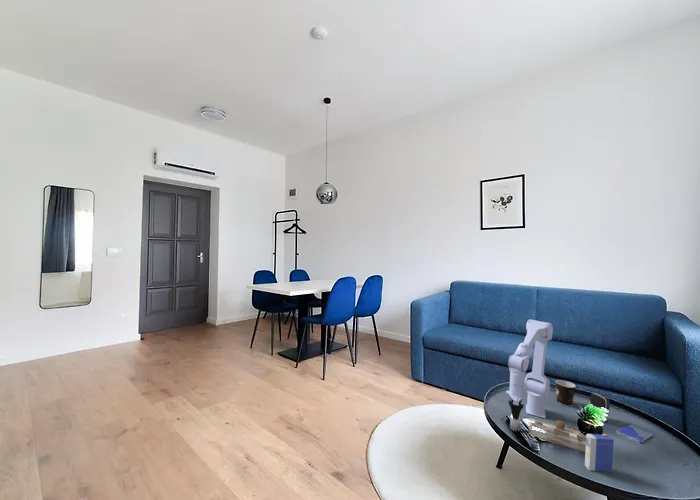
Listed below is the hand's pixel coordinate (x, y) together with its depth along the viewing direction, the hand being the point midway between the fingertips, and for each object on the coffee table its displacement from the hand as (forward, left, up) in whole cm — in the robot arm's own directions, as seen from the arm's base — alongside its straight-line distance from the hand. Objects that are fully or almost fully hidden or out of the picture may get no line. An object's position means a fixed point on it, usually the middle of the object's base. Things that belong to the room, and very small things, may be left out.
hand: (515, 414), depth 138 cm
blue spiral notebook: (-24, +45, -7) cm, 51 cm away
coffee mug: (-39, +21, -6) cm, 45 cm away
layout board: (-4, +17, -6) cm, 19 cm away
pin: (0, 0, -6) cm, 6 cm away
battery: (-31, +34, -6) cm, 46 cm away
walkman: (+12, +27, -6) cm, 30 cm away
